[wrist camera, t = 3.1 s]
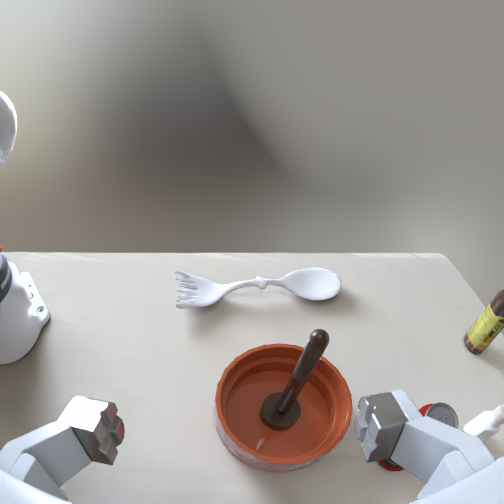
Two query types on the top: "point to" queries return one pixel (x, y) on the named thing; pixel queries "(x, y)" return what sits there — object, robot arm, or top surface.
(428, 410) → the beverage can
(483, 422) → the pepper shaker
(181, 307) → the spoon
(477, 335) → the sauce bottle
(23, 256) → the top surface
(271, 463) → the bowl
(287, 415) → the brown rod on stand
